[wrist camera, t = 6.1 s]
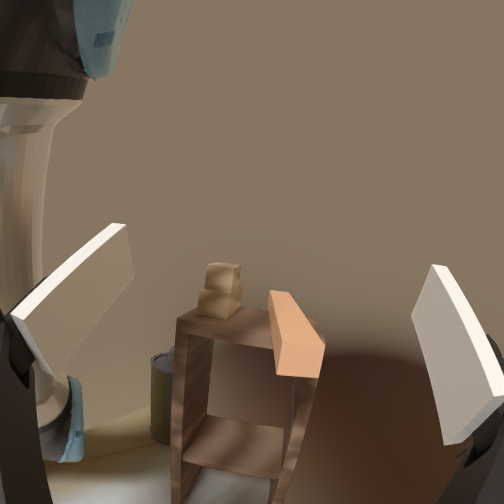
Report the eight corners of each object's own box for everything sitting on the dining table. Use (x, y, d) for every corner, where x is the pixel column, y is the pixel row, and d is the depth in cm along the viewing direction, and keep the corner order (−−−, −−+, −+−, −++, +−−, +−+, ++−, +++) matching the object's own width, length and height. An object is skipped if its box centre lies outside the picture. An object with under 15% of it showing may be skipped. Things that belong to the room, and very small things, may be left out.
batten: (318, 378, 19) (325, 345, 19) (276, 374, 20) (282, 341, 20) (286, 307, 47) (288, 292, 47) (267, 305, 48) (270, 290, 48)
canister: (154, 416, 58) (156, 337, 58) (198, 422, 59) (205, 344, 59) (146, 442, 47) (145, 355, 47) (197, 450, 48) (204, 364, 48)
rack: (171, 505, 31) (182, 263, 31) (195, 460, 45) (214, 261, 45) (274, 526, 29) (335, 284, 29) (279, 476, 43) (321, 276, 43)
